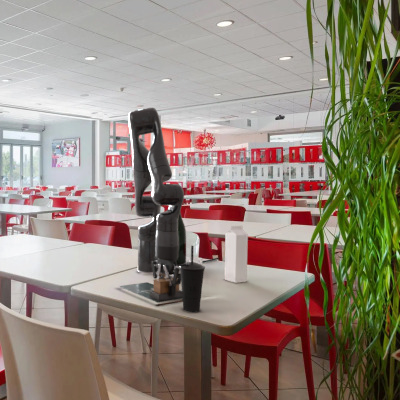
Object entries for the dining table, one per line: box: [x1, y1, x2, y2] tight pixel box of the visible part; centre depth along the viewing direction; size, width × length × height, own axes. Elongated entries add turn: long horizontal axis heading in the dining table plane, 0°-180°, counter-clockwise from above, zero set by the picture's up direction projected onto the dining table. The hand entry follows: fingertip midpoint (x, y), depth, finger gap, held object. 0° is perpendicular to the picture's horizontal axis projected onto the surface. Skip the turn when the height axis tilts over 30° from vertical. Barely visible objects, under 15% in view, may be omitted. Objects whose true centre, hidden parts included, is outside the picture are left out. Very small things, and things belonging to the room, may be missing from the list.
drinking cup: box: [178, 245, 206, 313], centre depth 129 cm, size 8×8×20 cm
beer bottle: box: [176, 210, 187, 264], centre depth 201 cm, size 10×10×33 cm
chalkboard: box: [118, 282, 183, 307], centre depth 148 cm, size 14×24×1 cm, turn 27°
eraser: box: [150, 277, 182, 301], centre depth 140 cm, size 10×5×6 cm, turn 117°
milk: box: [224, 225, 249, 284], centre depth 167 cm, size 6×6×22 cm
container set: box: [188, 256, 203, 266], centre depth 179 cm, size 20×5×6 cm, turn 155°
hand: (166, 294), depth 140 cm, fingers closed on eraser, 5 cm apart
